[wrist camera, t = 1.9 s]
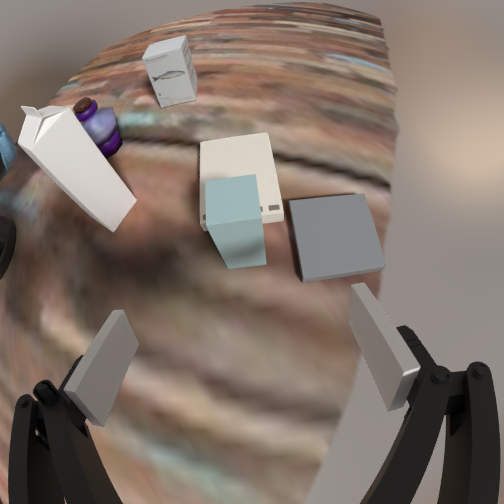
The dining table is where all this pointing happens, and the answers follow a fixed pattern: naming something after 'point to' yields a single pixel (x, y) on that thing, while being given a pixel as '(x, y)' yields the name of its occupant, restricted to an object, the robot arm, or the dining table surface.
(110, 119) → the potion bottle
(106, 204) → the milk
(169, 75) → the supplement box
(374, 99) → the dining table surface
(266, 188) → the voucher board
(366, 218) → the coaster
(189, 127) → the dining table surface
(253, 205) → the light blue tall block
